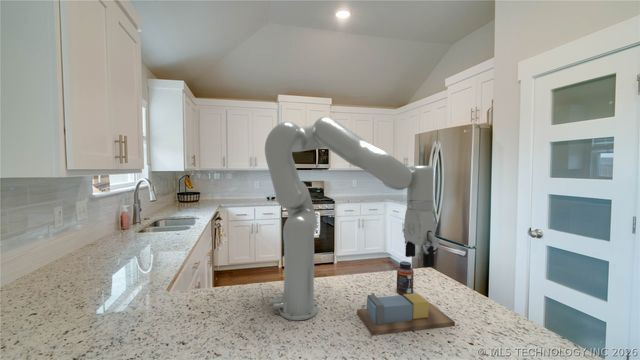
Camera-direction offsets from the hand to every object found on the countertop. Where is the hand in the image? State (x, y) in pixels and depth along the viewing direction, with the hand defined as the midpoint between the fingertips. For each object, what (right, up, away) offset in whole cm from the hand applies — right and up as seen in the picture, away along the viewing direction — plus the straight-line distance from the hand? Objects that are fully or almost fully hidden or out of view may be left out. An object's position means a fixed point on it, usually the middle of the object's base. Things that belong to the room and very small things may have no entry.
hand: (418, 261), depth 83 cm
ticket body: (-10, -16, -2) cm, 19 cm away
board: (-5, -18, -1) cm, 18 cm away
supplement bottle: (+1, -18, +18) cm, 25 cm away
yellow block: (-1, -16, 0) cm, 16 cm away
